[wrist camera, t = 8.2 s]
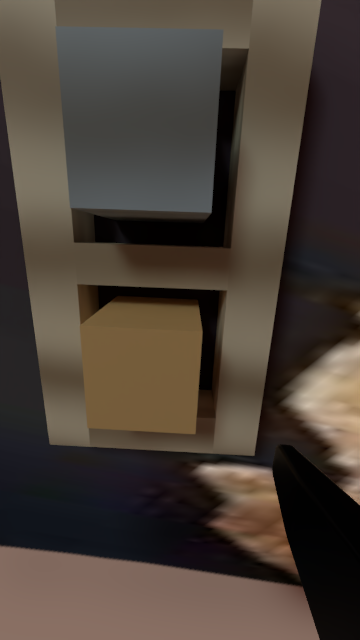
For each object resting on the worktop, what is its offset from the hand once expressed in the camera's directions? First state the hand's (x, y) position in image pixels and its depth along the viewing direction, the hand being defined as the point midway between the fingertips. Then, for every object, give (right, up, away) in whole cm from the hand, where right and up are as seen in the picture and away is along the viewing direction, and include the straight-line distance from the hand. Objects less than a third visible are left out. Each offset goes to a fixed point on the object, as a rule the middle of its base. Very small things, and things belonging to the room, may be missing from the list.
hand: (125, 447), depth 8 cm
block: (0, +3, +9) cm, 10 cm away
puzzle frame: (0, +7, +8) cm, 11 cm away
